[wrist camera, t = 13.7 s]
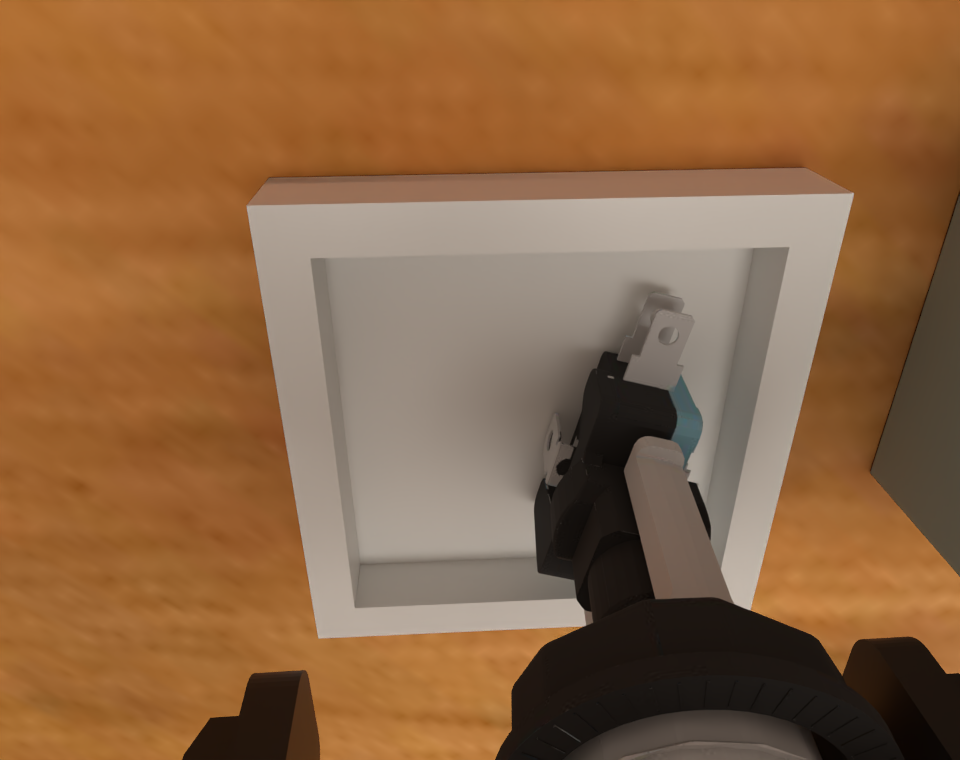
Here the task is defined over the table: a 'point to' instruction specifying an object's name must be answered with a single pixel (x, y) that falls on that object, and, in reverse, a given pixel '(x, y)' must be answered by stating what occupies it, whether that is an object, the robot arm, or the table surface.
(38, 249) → the table surface
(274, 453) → the table surface
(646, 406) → the push button
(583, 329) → the tray
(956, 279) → the box
